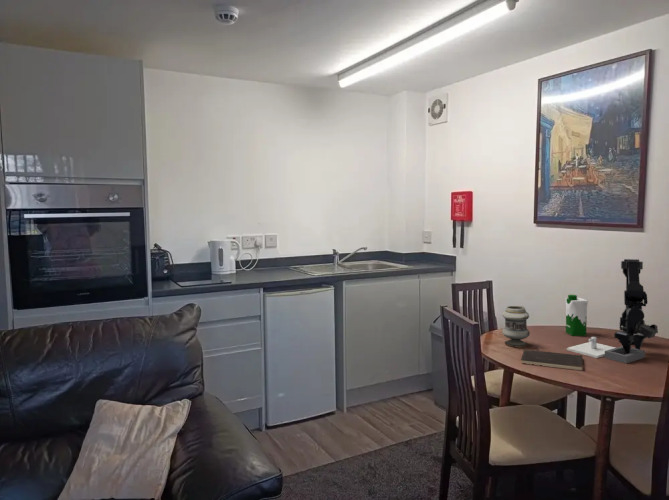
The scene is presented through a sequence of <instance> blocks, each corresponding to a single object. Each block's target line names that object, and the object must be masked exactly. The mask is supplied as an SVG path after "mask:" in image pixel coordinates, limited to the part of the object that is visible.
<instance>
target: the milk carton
mask: <svg viewBox="0 0 669 500" xmlns="http://www.w3.org/2000/svg"><path fill="white" fill-rule="evenodd" d="M588 303H589V300H586V299H585V298H582V297H578V295H577V294H568V295H567V297H565V333H566V334H568V335H570V336H572V337H577V336H578V337H581V336H582V337H583V336H584V337H586V336H587V323H588V322H587V318H588V316H587V314H588Z"/></svg>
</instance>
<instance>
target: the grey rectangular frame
mask: <svg viewBox="0 0 669 500" xmlns="http://www.w3.org/2000/svg"><path fill="white" fill-rule="evenodd" d="M645 357H646V350H643V349H641V348H640V349H636V348H635V347H631V349H630V354H626V352H625V350H624V348H623V346H622V345H621V346H618V347H615V348H614V349H610V350H607V351H605V356H604V359H608V360H612V361H615V362H618V363H623V364H629V363H632V362H636V361H639V360H642V359H645Z"/></svg>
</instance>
